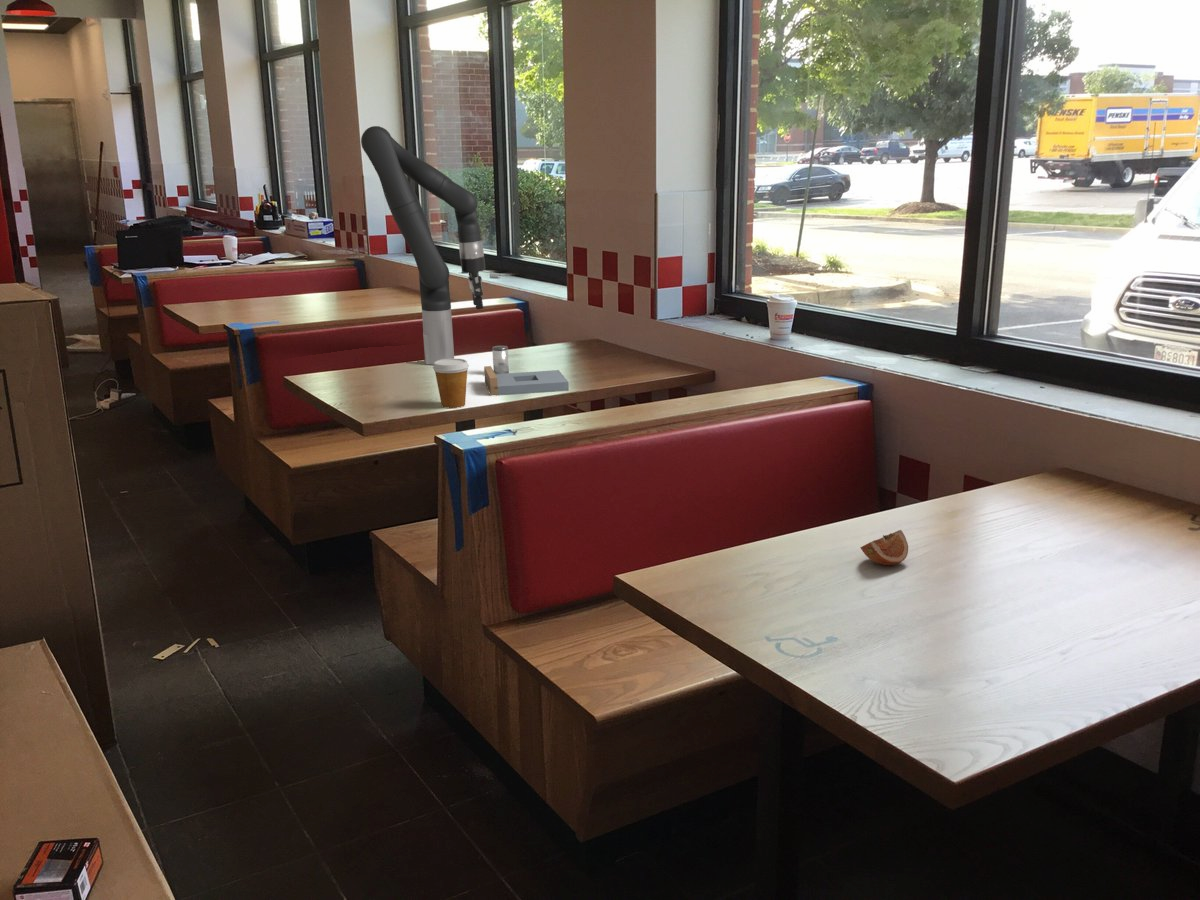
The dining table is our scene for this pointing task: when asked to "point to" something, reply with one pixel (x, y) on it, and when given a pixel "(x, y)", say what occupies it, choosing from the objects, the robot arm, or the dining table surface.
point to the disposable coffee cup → (451, 381)
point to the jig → (524, 382)
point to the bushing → (500, 359)
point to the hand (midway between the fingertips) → (478, 306)
